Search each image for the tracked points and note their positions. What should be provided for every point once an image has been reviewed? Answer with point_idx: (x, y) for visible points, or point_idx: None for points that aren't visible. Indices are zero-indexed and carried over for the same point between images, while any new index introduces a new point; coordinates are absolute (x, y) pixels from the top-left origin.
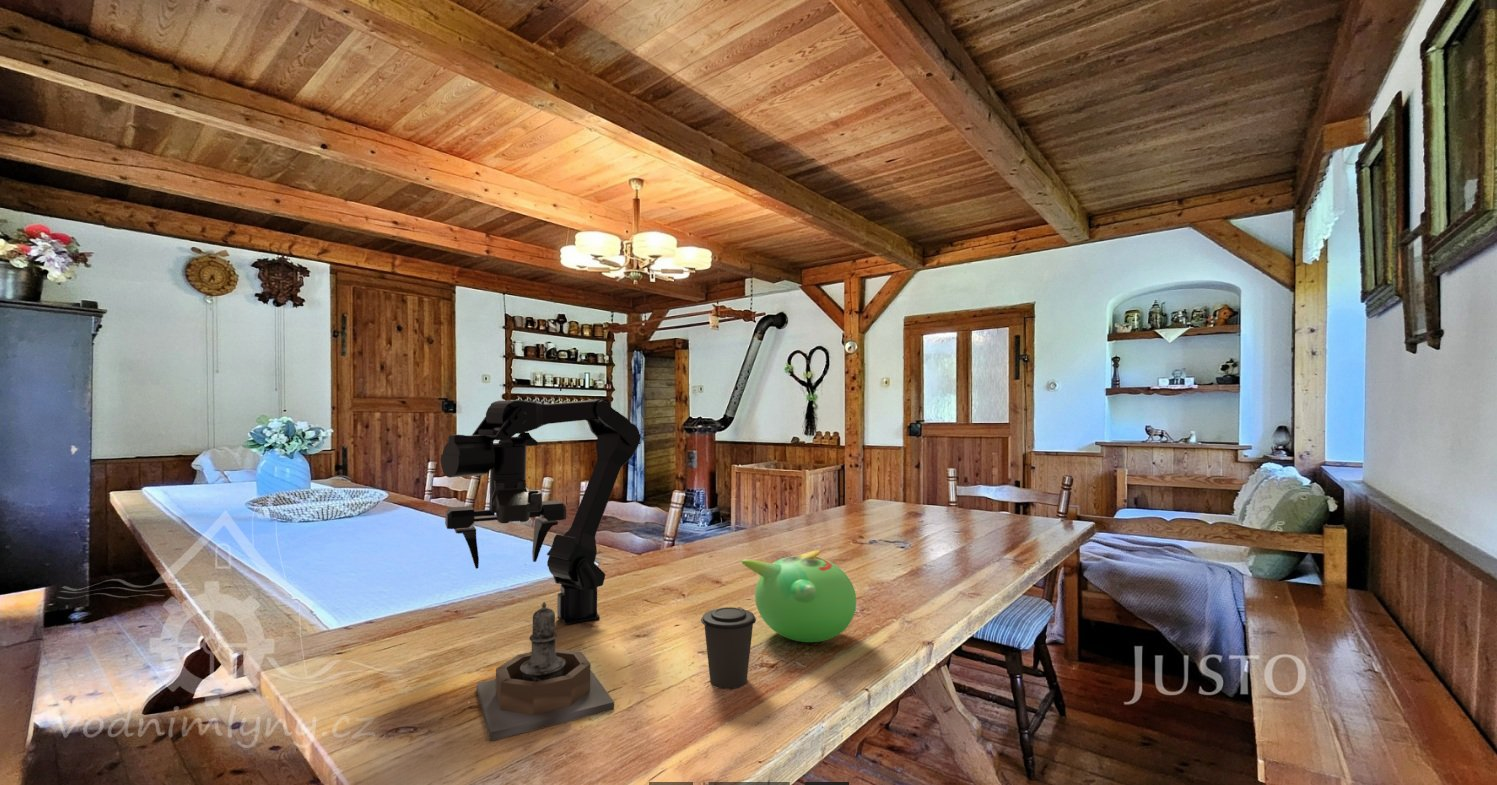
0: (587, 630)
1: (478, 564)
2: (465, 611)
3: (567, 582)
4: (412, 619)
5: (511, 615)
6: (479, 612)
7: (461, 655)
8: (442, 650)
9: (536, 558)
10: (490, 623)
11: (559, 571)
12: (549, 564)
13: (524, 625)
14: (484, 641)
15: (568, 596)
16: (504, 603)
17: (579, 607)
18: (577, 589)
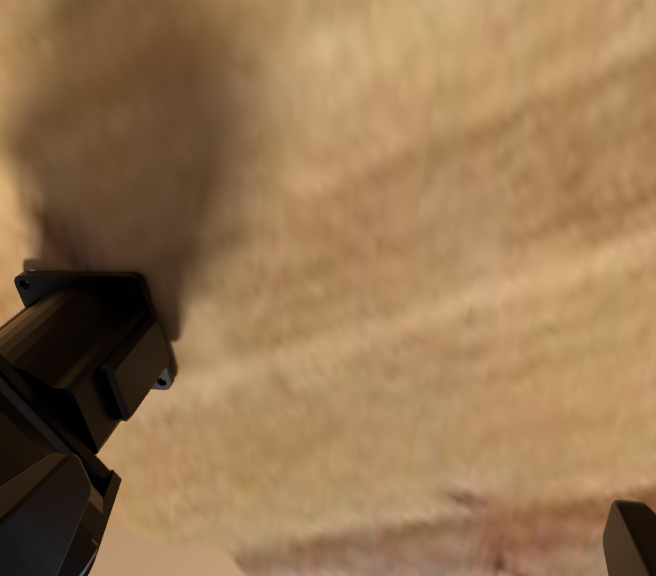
0: (55, 178)
1: (633, 530)
2: (472, 551)
3: (53, 434)
4: None
5: (332, 454)
6: (430, 525)
7: (586, 133)
8: (644, 237)
9: (31, 469)
10: (410, 421)
11: (28, 457)
12: (77, 543)
13: (294, 346)
14: (460, 255)
15: (77, 362)
16: (345, 553)
17: (59, 310)
18: (12, 362)
